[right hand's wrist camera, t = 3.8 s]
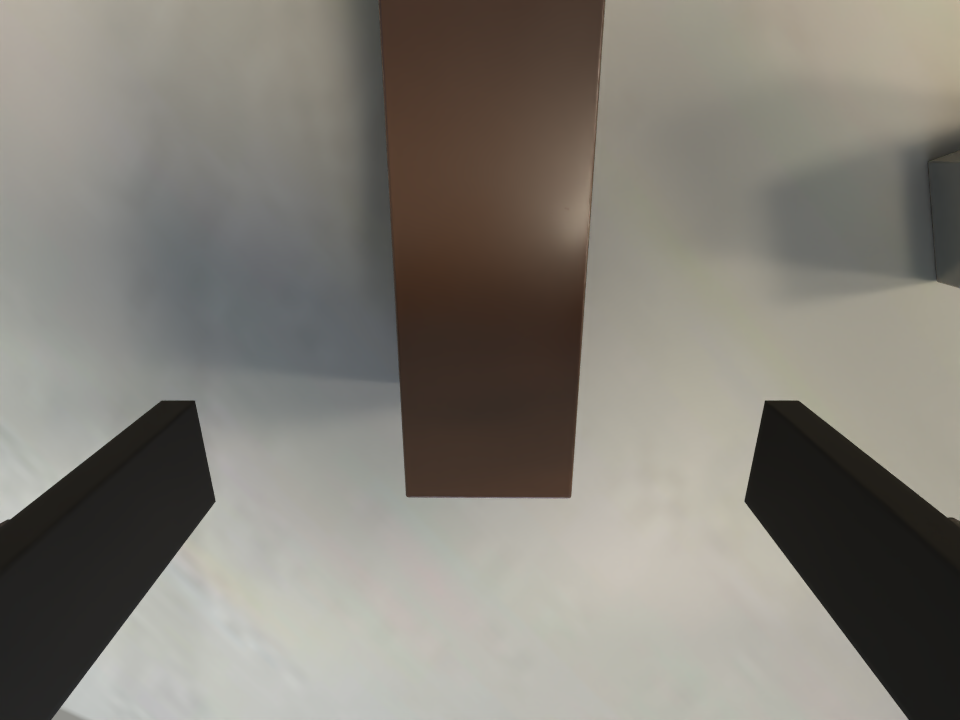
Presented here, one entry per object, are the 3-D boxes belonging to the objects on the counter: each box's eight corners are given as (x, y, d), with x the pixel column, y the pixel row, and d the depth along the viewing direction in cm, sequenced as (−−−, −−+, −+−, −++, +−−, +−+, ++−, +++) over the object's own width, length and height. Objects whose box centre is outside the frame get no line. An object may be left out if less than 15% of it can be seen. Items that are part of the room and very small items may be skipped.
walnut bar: (403, -463, 15) (315, -1125, 7) (581, -466, 15) (684, -1133, 7) (431, 387, 24) (405, 498, 17) (543, 387, 24) (571, 499, 16)
